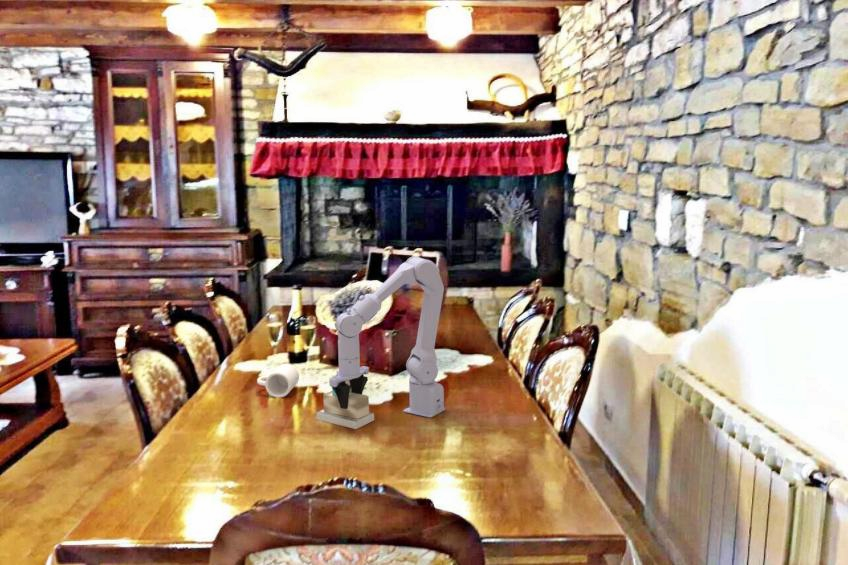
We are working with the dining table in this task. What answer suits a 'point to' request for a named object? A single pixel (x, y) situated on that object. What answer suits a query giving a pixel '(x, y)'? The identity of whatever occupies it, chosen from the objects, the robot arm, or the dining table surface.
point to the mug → (280, 380)
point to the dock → (345, 419)
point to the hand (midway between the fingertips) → (350, 405)
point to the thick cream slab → (356, 405)
